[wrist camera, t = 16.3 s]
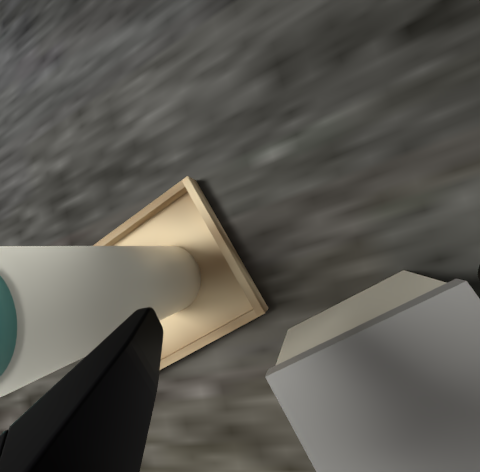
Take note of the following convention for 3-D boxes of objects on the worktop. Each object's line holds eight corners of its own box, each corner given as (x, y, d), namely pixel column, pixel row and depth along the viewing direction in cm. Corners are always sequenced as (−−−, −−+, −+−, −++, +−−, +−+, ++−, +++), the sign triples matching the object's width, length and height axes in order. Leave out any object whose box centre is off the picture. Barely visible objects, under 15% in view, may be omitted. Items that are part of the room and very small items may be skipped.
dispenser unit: (467, 354, 17) (586, 440, 9) (331, 410, 19) (340, 516, 11) (406, 265, 18) (469, 279, 10) (284, 328, 20) (265, 376, 12)
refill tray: (268, 308, 20) (264, 313, 19) (151, 372, 23) (140, 380, 21) (195, 180, 22) (187, 176, 21) (96, 252, 25) (82, 253, 23)
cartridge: (212, 292, 21) (25, 376, 7) (160, 323, 22) (-81, 443, 9) (181, 233, 22) (-35, 214, 8) (132, 266, 23) (-124, 295, 10)
